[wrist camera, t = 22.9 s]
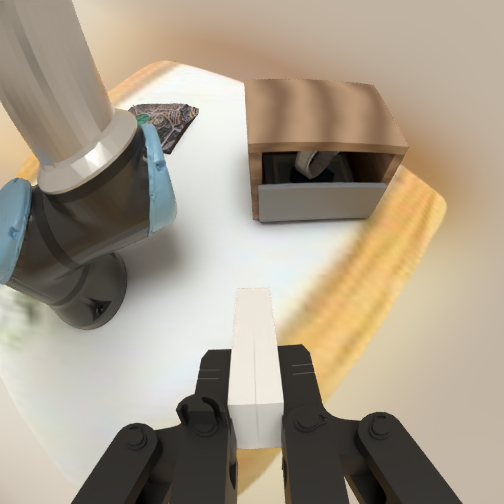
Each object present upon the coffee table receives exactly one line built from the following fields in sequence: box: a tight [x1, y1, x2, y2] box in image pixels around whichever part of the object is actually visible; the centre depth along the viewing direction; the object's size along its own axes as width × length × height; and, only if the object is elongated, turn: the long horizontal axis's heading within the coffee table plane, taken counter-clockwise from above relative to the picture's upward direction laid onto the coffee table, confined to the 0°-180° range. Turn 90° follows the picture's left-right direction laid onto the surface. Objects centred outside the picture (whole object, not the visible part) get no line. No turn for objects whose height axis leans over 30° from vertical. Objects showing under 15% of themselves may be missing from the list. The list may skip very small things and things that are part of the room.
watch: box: [290, 151, 340, 183], centre depth 40 cm, size 6×8×11 cm
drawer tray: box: [258, 154, 387, 222], centre depth 42 cm, size 18×13×8 cm
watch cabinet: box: [244, 79, 409, 220], centre depth 40 cm, size 20×14×17 cm
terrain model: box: [128, 103, 199, 154], centre depth 55 cm, size 20×15×3 cm
